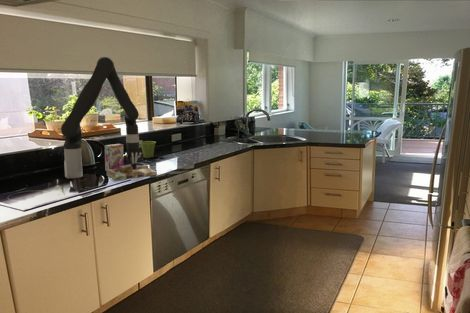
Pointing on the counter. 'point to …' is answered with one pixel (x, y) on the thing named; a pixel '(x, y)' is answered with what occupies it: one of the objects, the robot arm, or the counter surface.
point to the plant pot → (148, 148)
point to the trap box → (137, 172)
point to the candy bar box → (114, 156)
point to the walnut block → (126, 169)
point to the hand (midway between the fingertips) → (134, 169)
